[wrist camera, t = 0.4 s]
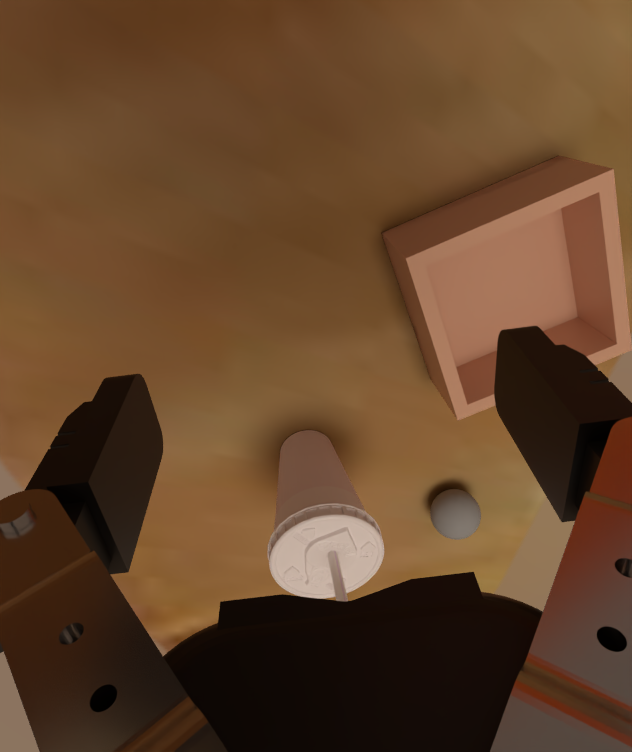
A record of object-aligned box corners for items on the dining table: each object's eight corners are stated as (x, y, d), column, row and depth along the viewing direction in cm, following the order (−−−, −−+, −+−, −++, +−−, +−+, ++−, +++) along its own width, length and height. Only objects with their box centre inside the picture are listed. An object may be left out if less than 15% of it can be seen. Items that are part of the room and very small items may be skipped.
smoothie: (367, 429, 37) (432, 599, 25) (327, 497, 40) (369, 681, 28) (282, 401, 35) (308, 571, 23) (246, 475, 38) (252, 663, 26)
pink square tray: (381, 233, 31) (405, 258, 26) (558, 155, 30) (613, 168, 26) (430, 379, 36) (457, 420, 32) (582, 316, 35) (631, 350, 31)
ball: (418, 490, 41) (433, 524, 38) (463, 472, 40) (482, 505, 37) (431, 521, 42) (446, 556, 39) (474, 504, 42) (493, 538, 39)
